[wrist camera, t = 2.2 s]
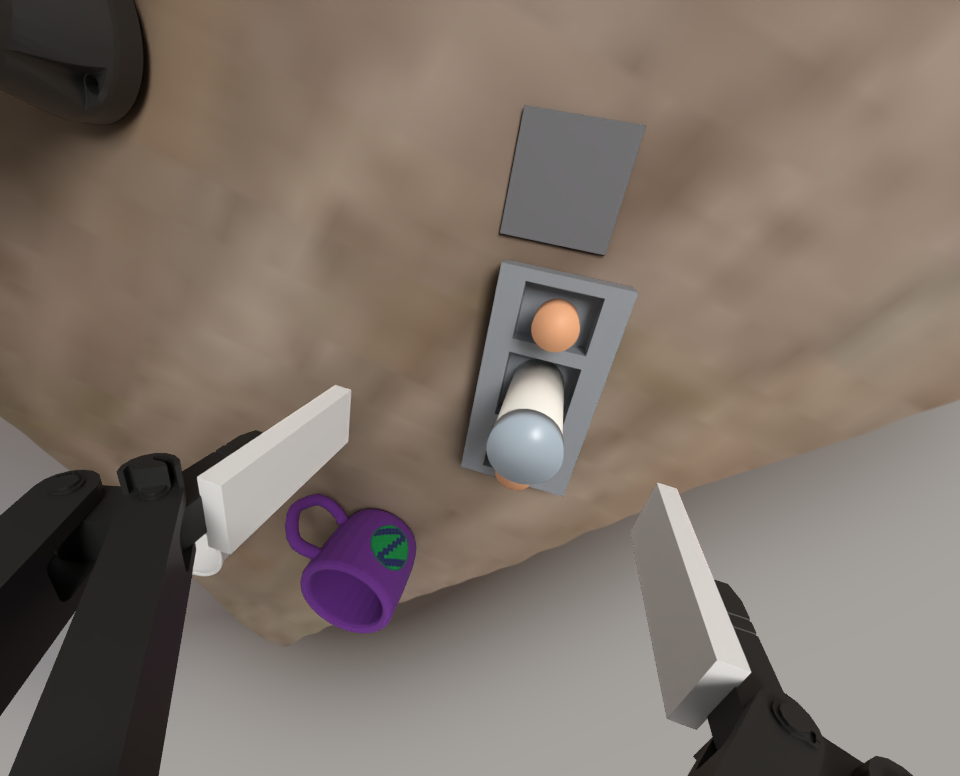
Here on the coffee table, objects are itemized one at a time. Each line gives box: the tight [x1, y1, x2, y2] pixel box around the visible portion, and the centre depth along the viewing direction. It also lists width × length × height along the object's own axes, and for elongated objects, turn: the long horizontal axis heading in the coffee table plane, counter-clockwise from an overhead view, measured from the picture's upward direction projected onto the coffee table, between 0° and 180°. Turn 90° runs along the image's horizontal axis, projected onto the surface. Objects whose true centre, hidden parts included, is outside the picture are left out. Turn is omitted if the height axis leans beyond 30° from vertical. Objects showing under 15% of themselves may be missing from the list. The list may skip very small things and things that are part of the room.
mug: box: [285, 494, 416, 633], centre depth 45 cm, size 17×11×10 cm, turn 45°
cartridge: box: [486, 358, 564, 485], centre depth 30 cm, size 5×5×12 cm
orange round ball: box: [495, 471, 530, 490], centre depth 35 cm, size 4×4×3 cm
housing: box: [461, 259, 638, 496], centre depth 35 cm, size 21×11×3 cm, turn 169°
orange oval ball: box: [531, 298, 580, 352], centre depth 29 cm, size 4×4×3 cm
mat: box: [500, 105, 646, 255], centre depth 29 cm, size 9×9×1 cm
